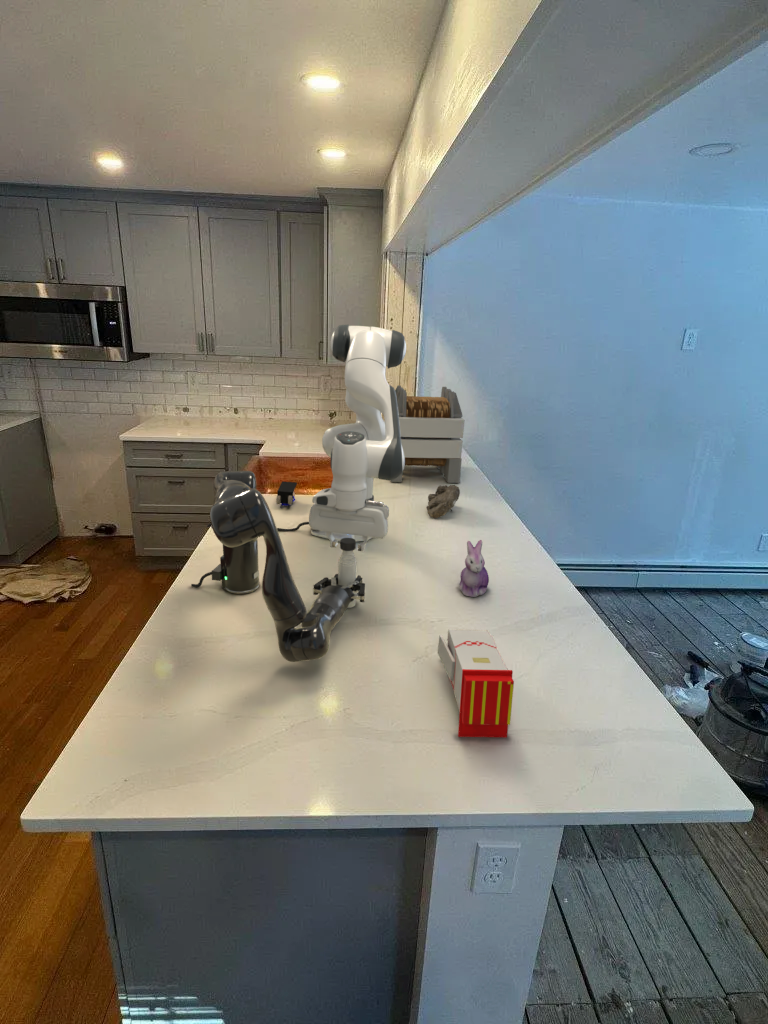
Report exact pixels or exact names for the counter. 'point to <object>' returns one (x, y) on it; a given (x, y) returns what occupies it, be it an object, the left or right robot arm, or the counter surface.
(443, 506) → the fossil
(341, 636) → the counter surface
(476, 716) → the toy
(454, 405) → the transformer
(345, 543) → the cap
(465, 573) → the figurine
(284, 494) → the figurine character
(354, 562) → the bottle
